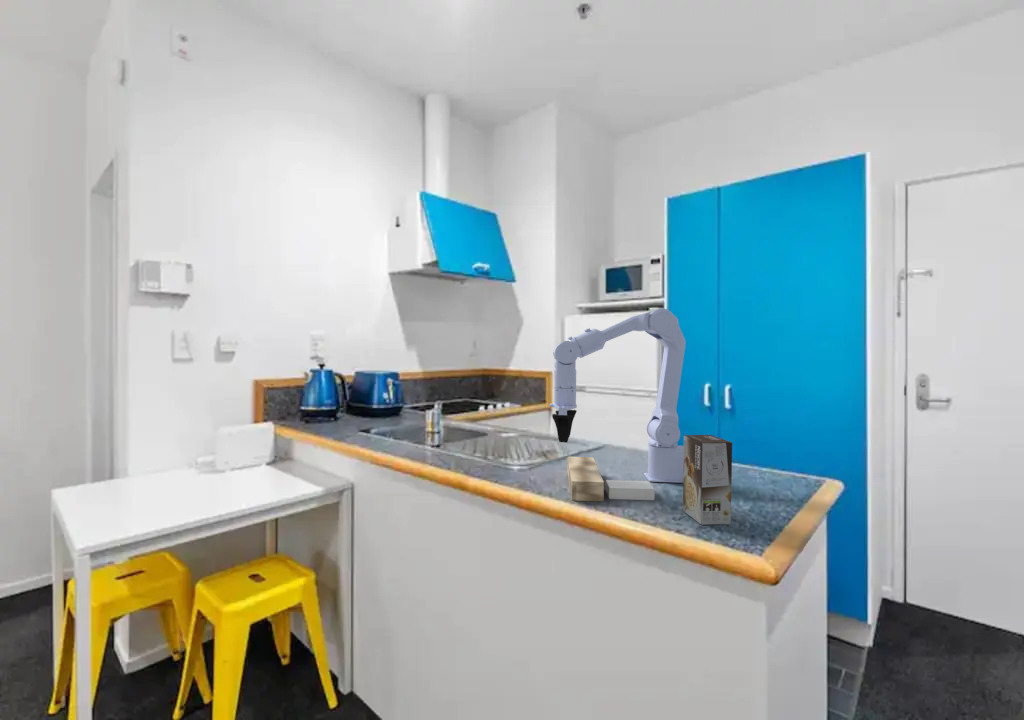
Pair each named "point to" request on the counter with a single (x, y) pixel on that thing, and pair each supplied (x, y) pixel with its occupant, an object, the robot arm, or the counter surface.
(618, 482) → the white flat block
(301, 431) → the counter surface
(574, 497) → the wooden block
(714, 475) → the coffee box
